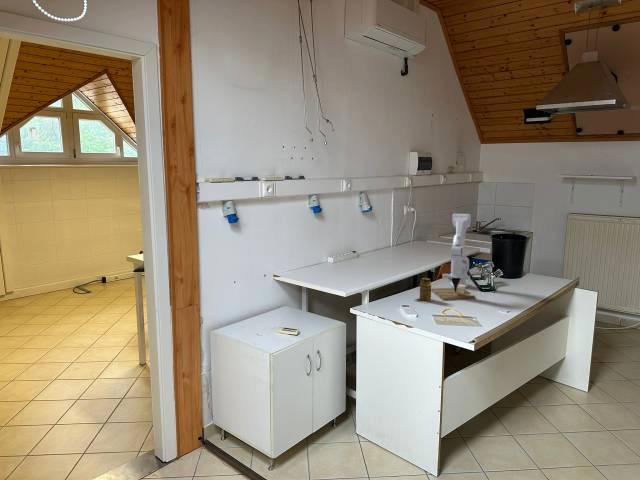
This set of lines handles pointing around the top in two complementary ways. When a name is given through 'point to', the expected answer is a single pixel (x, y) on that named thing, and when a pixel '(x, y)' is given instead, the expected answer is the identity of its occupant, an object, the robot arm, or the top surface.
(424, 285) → the condiment
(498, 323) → the top surface
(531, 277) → the top surface
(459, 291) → the folding leg
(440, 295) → the stool seat
